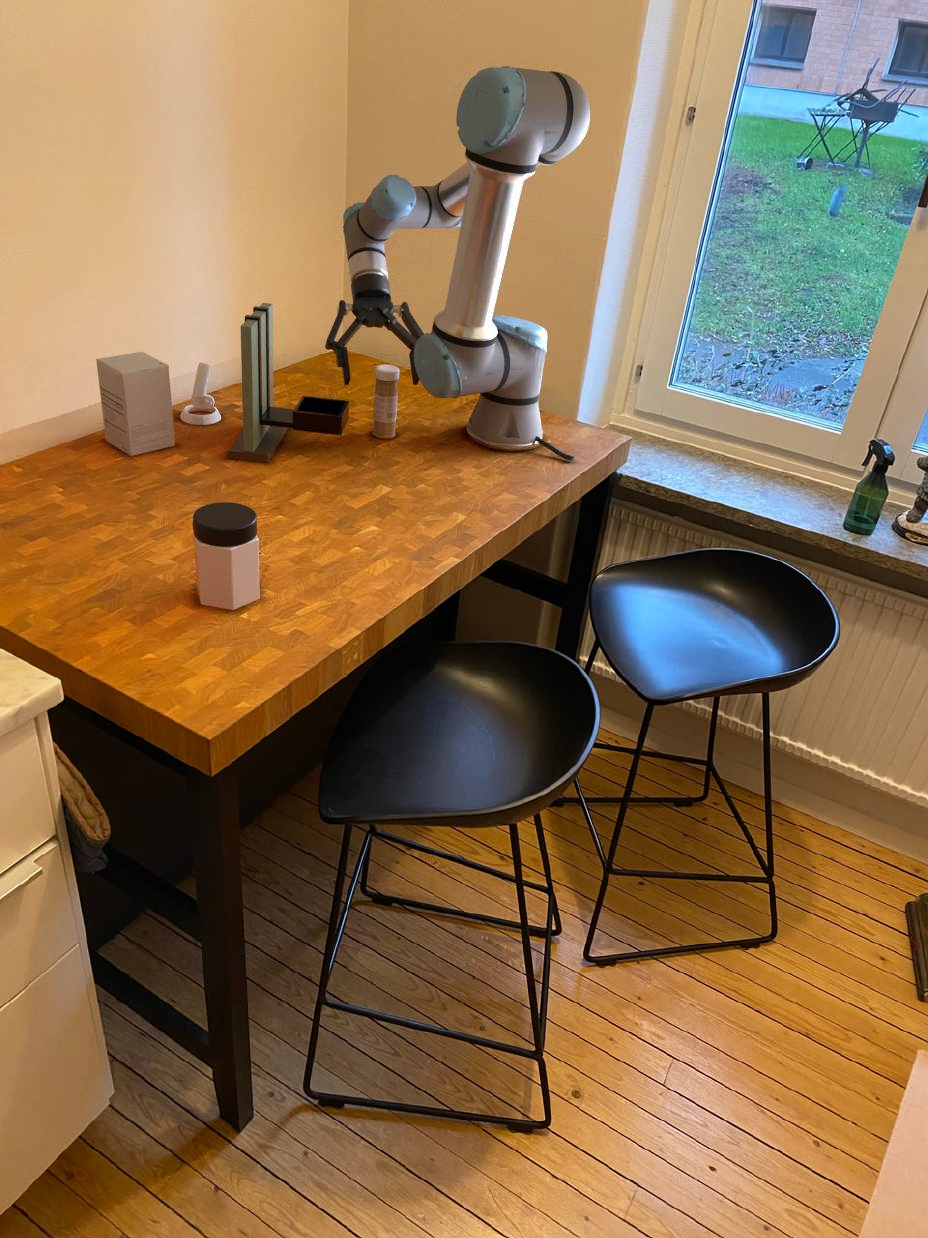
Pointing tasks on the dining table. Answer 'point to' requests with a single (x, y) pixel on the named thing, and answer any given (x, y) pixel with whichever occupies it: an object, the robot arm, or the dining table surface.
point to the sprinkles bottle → (385, 401)
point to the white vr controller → (201, 400)
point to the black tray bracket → (309, 410)
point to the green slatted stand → (256, 394)
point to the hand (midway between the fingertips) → (382, 381)
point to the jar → (226, 555)
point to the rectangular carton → (136, 402)
